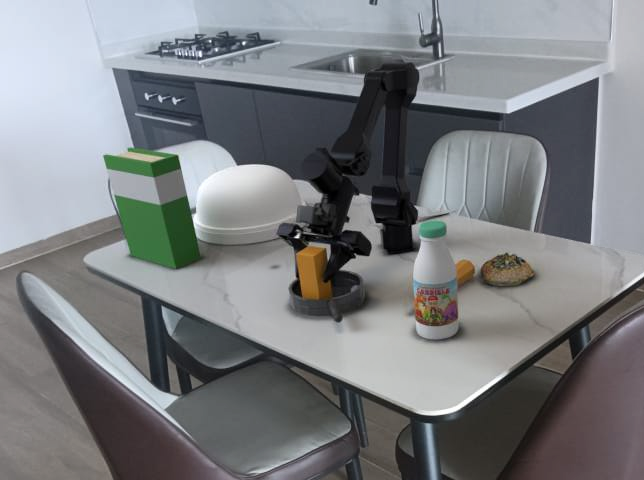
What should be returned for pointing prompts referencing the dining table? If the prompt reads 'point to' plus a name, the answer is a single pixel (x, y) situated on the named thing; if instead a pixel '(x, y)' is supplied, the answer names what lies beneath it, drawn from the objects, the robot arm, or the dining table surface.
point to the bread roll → (506, 270)
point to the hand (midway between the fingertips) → (310, 280)
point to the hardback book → (153, 206)
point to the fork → (429, 215)
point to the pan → (344, 291)
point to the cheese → (313, 273)
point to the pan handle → (335, 310)
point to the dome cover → (245, 205)
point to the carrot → (464, 271)
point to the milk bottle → (435, 284)
